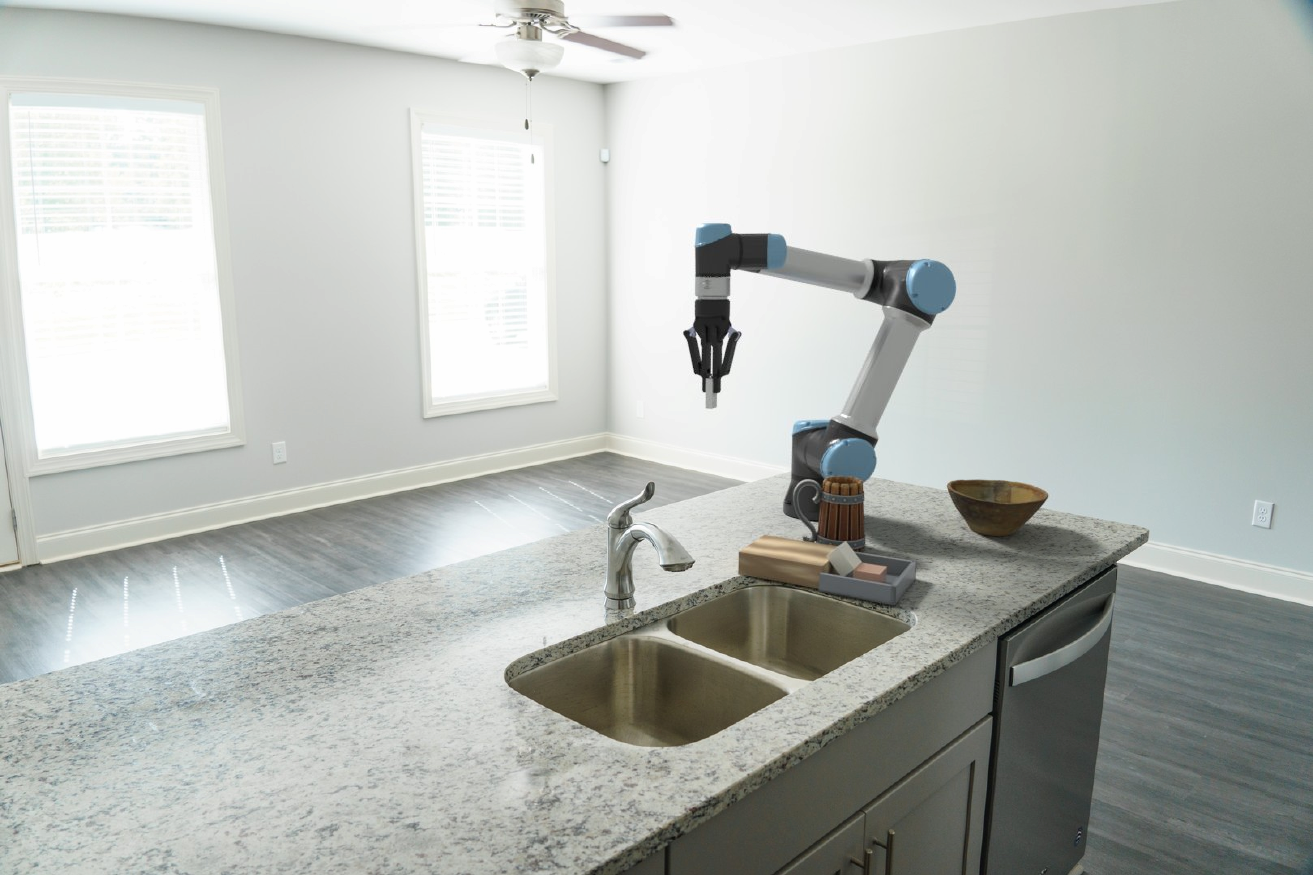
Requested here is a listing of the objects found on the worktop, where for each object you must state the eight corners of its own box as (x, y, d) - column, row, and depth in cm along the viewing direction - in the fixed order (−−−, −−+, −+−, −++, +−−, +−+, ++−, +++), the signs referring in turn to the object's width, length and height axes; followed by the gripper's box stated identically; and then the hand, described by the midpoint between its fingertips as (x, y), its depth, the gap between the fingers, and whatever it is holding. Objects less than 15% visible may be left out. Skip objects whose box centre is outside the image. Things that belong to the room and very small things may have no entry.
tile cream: (834, 548, 173) (845, 540, 171) (850, 569, 172) (861, 561, 170) (825, 556, 168) (837, 547, 167) (842, 577, 167) (854, 569, 166)
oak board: (763, 555, 185) (764, 534, 184) (842, 568, 177) (843, 547, 176) (738, 573, 174) (738, 551, 173) (821, 589, 166) (822, 566, 165)
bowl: (1053, 526, 207) (1056, 484, 205) (1035, 552, 188) (1039, 506, 186) (957, 512, 218) (960, 472, 217) (931, 535, 200) (934, 492, 198)
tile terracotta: (886, 566, 168) (886, 581, 169) (861, 562, 170) (860, 577, 171) (879, 574, 164) (878, 589, 164) (853, 569, 166) (852, 585, 167)
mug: (861, 541, 195) (865, 475, 192) (868, 556, 185) (872, 486, 182) (790, 538, 196) (792, 473, 194) (792, 554, 186) (795, 484, 183)
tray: (845, 566, 178) (845, 550, 177) (915, 578, 171) (916, 561, 171) (818, 591, 164) (819, 573, 164) (894, 605, 158) (895, 586, 157)
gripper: (677, 298, 188) (676, 408, 192) (734, 299, 182) (732, 412, 186) (692, 297, 194) (691, 403, 199) (747, 298, 188) (745, 407, 193)
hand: (711, 407), depth 192 cm, fingers closed
